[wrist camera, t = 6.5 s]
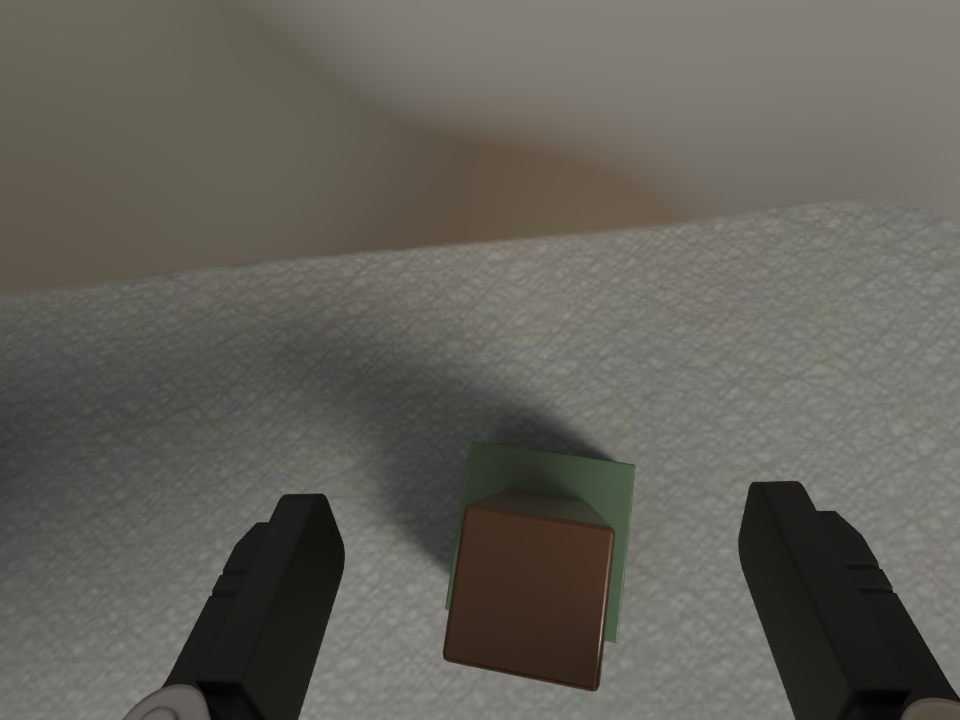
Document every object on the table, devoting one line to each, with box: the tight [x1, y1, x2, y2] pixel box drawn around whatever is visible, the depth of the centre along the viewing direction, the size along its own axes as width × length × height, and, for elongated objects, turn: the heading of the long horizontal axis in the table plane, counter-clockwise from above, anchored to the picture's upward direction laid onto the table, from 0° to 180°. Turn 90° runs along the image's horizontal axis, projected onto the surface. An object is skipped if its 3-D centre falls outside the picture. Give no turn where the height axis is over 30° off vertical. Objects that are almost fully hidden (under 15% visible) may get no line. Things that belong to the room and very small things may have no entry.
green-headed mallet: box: [443, 441, 636, 691], centre depth 13 cm, size 4×4×10 cm
